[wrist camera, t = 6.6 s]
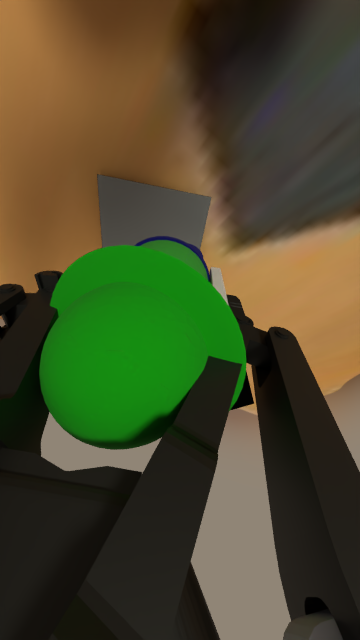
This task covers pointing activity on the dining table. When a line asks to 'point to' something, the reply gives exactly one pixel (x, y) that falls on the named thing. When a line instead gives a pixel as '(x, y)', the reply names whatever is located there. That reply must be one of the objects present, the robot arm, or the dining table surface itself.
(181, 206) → the plate
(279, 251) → the dining table surface
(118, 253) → the toy
